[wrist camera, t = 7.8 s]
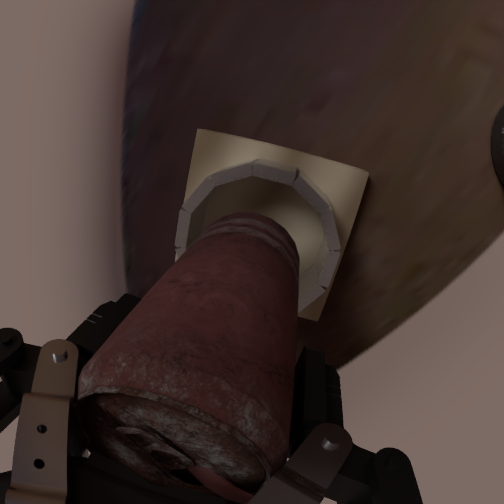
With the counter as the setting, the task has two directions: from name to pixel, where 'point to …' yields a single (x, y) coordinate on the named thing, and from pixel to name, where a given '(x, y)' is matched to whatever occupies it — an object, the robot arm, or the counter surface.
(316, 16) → the counter surface
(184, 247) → the collar
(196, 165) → the stand
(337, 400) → the robot arm
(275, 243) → the can
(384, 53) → the counter surface
